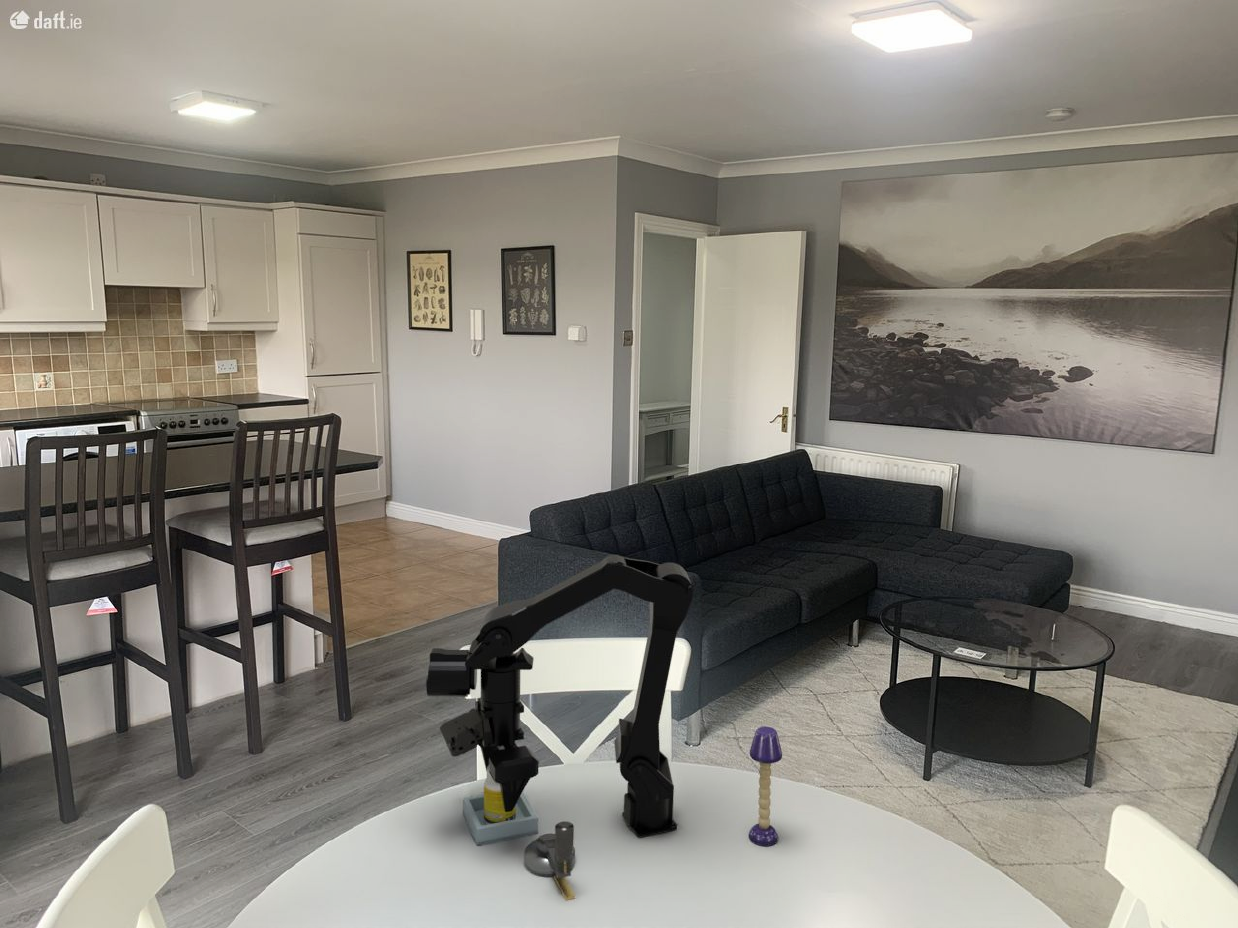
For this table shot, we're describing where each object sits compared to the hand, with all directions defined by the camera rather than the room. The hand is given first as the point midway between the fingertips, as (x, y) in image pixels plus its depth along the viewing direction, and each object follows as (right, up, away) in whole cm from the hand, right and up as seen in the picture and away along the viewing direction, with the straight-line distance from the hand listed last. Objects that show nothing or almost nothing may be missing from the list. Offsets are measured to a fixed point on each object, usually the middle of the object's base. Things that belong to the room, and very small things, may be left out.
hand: (500, 795), depth 133 cm
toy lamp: (+38, -6, -1) cm, 39 cm away
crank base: (+9, -7, -11) cm, 15 cm away
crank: (+9, -5, -11) cm, 15 cm away
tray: (0, -4, +1) cm, 4 cm away
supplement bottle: (0, -4, +1) cm, 4 cm away
